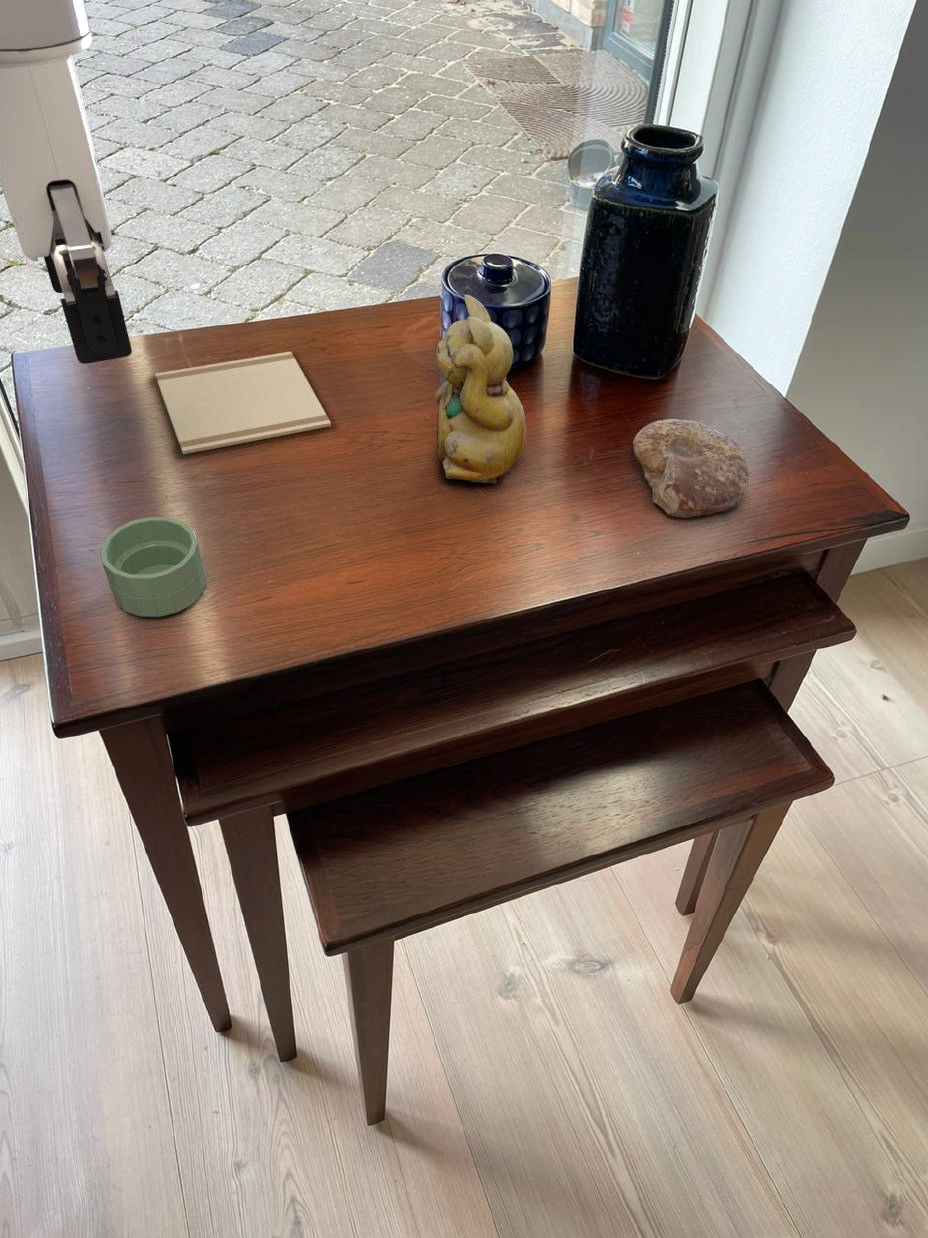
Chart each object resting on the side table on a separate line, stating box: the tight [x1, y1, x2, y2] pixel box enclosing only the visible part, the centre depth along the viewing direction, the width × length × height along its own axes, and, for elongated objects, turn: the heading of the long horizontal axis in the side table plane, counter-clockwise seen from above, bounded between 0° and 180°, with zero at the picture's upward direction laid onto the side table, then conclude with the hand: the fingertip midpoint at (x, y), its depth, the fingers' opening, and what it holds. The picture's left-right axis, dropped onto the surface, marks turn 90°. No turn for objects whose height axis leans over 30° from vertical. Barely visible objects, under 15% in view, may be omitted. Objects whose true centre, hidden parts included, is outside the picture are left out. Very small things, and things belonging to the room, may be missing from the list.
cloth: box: [154, 351, 332, 455], centre depth 88 cm, size 14×14×1 cm
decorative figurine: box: [434, 294, 527, 485], centre depth 77 cm, size 10×8×15 cm
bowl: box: [99, 516, 207, 618], centre depth 68 cm, size 7×7×4 cm
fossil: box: [632, 418, 750, 519], centre depth 81 cm, size 13×5×10 cm
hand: (91, 321), depth 58 cm, fingers open, 9 cm apart
